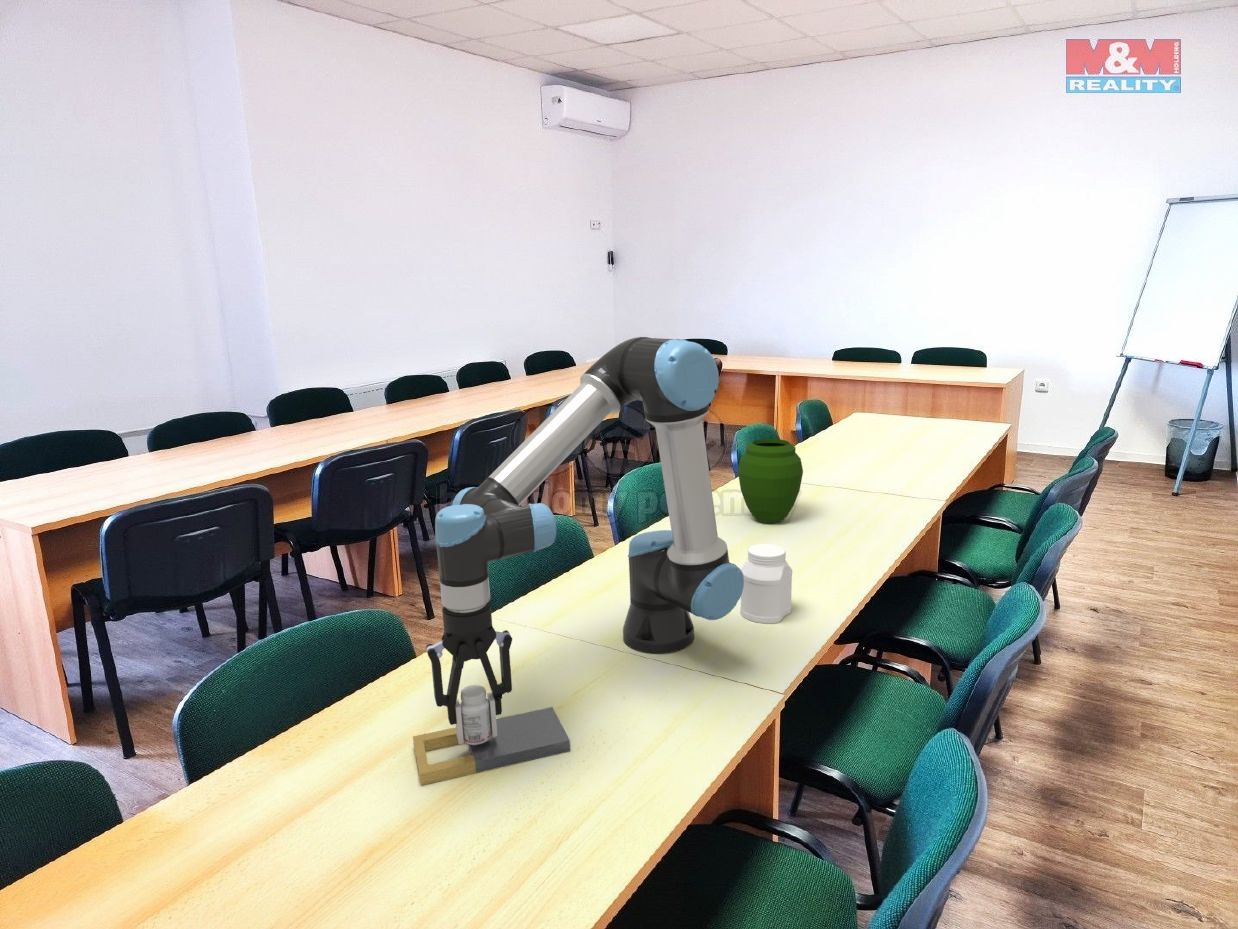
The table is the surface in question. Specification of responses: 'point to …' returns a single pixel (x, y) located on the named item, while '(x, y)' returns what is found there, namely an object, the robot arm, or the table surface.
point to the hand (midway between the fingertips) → (476, 735)
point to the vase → (770, 479)
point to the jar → (766, 584)
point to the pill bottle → (475, 715)
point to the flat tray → (494, 746)
